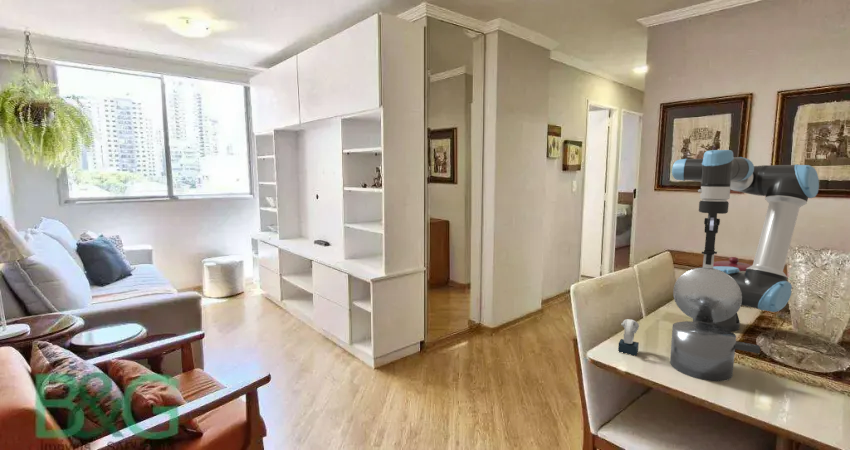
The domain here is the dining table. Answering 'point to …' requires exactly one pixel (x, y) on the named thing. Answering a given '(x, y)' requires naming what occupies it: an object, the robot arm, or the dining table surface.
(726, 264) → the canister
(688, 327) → the cooker pot
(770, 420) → the dining table surface
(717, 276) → the lid
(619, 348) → the watch
